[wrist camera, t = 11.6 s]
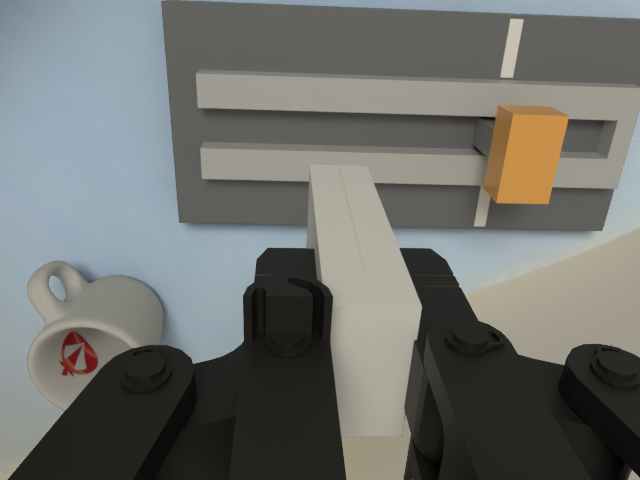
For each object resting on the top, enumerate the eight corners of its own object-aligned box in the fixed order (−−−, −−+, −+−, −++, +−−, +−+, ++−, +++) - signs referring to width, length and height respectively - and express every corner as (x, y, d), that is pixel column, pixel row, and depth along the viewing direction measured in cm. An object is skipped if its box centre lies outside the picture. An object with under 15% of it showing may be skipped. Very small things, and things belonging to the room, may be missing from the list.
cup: (23, 263, 41) (-36, 324, 33) (108, 213, 39) (66, 266, 32) (115, 362, 45) (81, 435, 38) (195, 321, 43) (175, 389, 36)
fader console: (184, 211, 39) (174, 231, 36) (168, 0, 33) (155, 2, 30) (588, 219, 41) (613, 240, 38) (643, 18, 35) (678, 23, 32)
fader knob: (464, 167, 36) (496, 202, 31) (477, 91, 34) (513, 114, 28) (508, 168, 37) (548, 204, 31) (523, 92, 34) (569, 116, 29)
